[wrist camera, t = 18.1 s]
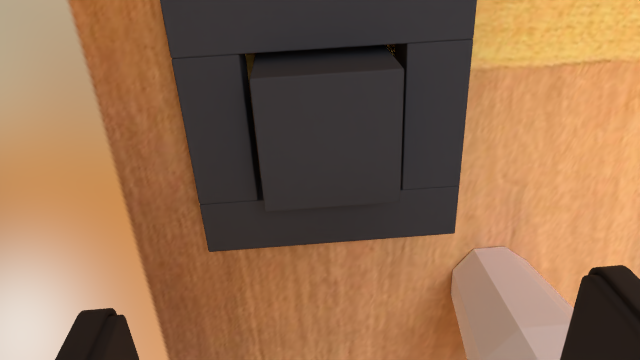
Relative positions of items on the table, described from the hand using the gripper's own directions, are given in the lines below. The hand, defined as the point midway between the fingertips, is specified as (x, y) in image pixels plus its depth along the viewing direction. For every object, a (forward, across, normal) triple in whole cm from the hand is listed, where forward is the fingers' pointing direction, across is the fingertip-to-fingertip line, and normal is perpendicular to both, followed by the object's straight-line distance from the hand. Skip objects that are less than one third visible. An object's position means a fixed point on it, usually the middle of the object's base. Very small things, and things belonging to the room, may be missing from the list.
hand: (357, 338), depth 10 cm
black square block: (+15, 0, +1) cm, 15 cm away
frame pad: (+16, 0, +1) cm, 16 cm away
